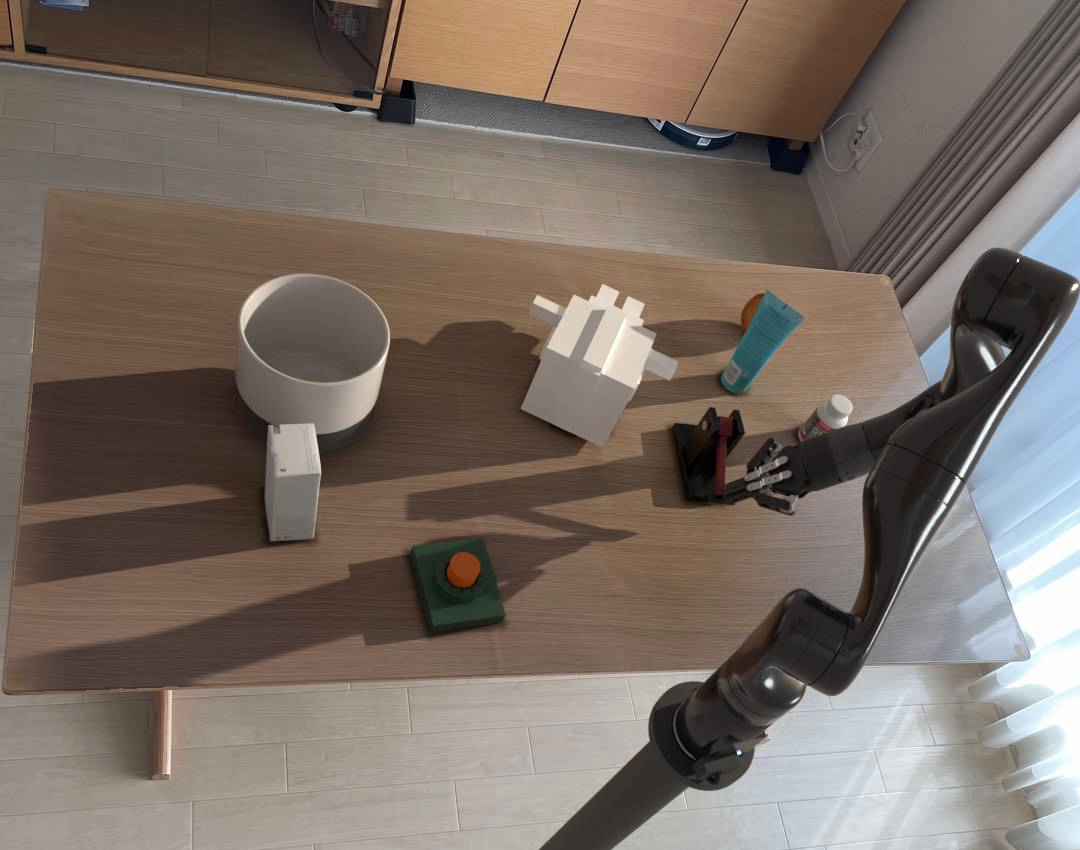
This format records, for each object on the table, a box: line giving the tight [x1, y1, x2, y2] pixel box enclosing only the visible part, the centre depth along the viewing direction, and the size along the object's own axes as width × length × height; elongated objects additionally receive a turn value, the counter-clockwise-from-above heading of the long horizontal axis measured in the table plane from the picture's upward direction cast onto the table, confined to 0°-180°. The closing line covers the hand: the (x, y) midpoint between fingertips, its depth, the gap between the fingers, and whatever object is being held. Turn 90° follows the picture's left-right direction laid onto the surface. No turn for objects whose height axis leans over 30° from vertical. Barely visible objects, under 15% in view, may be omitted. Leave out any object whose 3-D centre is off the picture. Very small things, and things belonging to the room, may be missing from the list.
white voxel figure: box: [520, 283, 680, 448], centre depth 158 cm, size 15×25×28 cm
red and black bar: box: [703, 415, 736, 506], centre depth 150 cm, size 13×4×2 cm, turn 6°
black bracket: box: [670, 406, 746, 503], centre depth 154 cm, size 14×6×12 cm, turn 5°
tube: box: [720, 289, 806, 394], centre depth 164 cm, size 7×5×19 cm, turn 57°
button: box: [446, 552, 480, 588], centre depth 131 cm, size 4×4×3 cm
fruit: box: [740, 292, 765, 334], centre depth 177 cm, size 8×8×8 cm
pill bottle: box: [798, 394, 854, 442], centre depth 165 cm, size 5×5×10 cm
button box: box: [409, 537, 507, 634], centre depth 133 cm, size 12×10×4 cm
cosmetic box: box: [264, 423, 322, 542], centre depth 128 cm, size 8×6×15 cm
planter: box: [233, 273, 391, 454], centre depth 136 cm, size 19×19×18 cm
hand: (724, 495), depth 149 cm, fingers closed
